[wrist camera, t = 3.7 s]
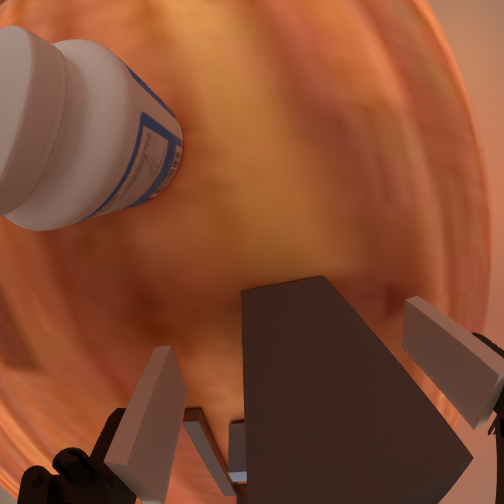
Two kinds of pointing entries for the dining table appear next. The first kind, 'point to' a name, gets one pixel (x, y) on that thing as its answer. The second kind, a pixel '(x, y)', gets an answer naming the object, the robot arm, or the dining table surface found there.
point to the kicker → (332, 409)
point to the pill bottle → (77, 133)
